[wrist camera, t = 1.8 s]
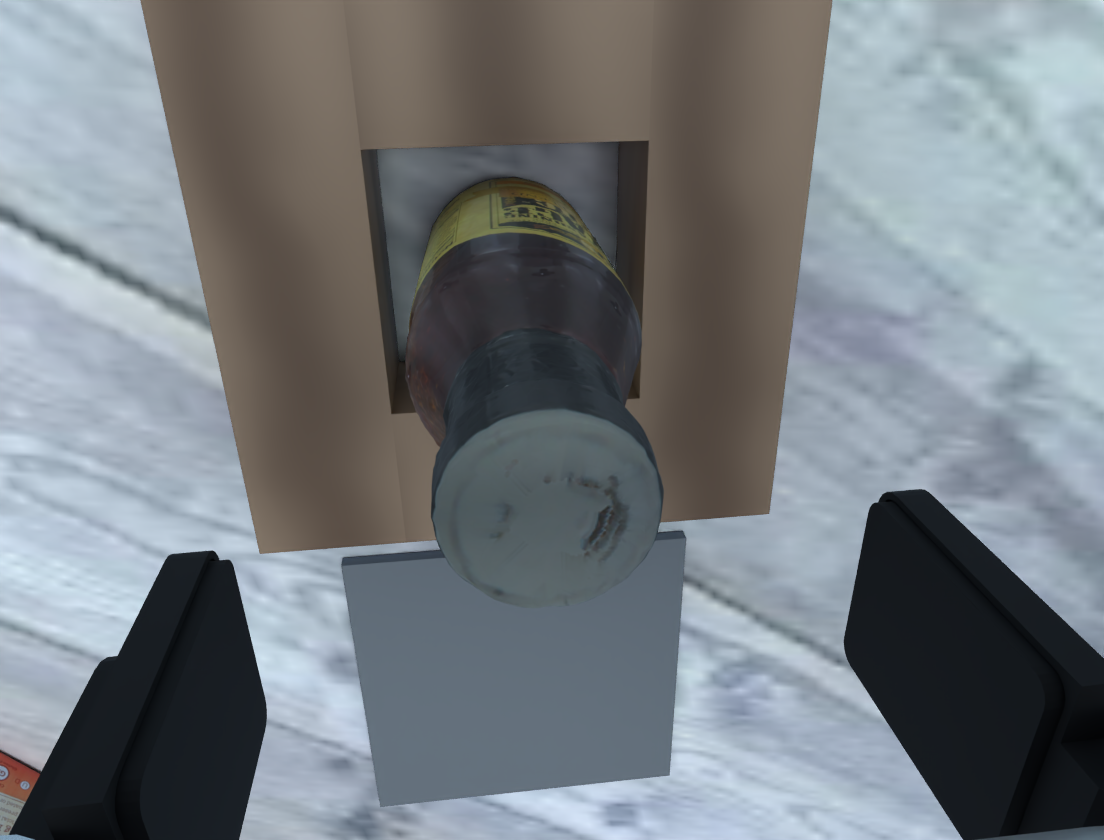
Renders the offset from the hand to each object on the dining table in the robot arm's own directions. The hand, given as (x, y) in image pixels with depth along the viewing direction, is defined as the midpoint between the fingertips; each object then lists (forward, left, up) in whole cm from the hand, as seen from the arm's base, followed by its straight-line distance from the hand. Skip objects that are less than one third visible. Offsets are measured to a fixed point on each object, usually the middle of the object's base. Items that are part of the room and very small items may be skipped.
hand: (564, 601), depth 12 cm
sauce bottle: (0, 0, -22) cm, 22 cm away
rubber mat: (0, +22, -22) cm, 31 cm away
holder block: (0, 0, -22) cm, 22 cm away
